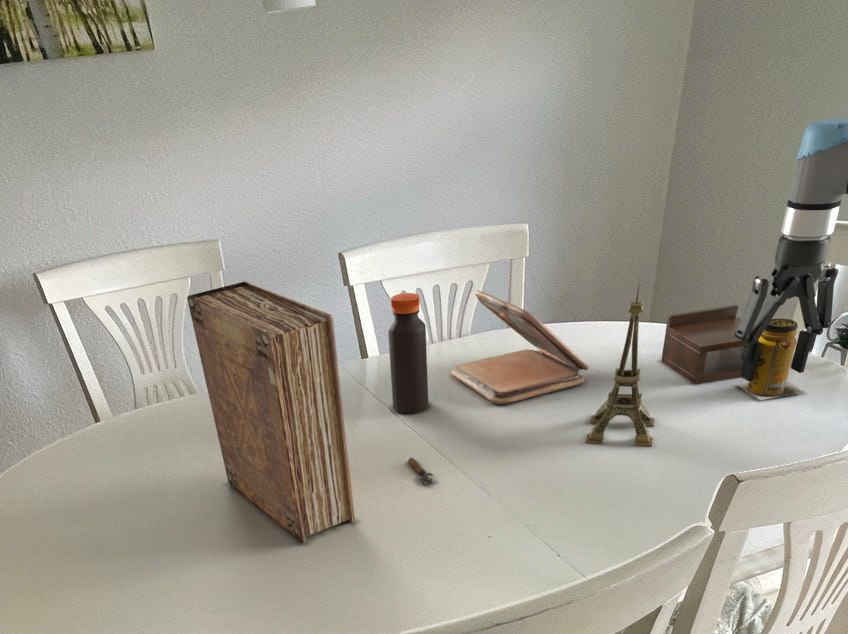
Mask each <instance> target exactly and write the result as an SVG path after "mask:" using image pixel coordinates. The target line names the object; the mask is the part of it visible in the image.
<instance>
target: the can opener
mask: <svg viewBox="0 0 848 634" xmlns="http://www.w3.org/2000/svg"><path fill="white" fill-rule="evenodd" d="M407 462H408V464H409V465H410V466H411V468H412V469H413V470H415V471H416V472H417V473H418V474H419V475H420V477H419V478H418V479H419V482H420V484H423V485H426V486H429V485H431V484H433V478H432V477H433V476H434V474H433V473H431V472H426V470H425V469H424V468H423V467H421V465H420V464H419V462H418V461H417V459H415V458H413V457H409V458H408V460H407ZM429 476H431V477H429Z"/></svg>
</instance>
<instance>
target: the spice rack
mask: <svg viewBox="0 0 848 634" xmlns="http://www.w3.org/2000/svg"><path fill="white" fill-rule="evenodd" d="M738 310H739V305H737V304H731V305H725V306H719V307H718V306H717V307H712V308H711V307H710V308H706V309H699V310H692V311H686V312H679V313H673V314H668V315H667V318H666V319H667V321H666V327H665V334H664V341H663V347H662V352H661V353H662V354H661V359H660V363H663V364H664V365H665V366H666V367H668V368H670V369H671V370H672V371H674V372H676V373H677V374H678V375H680V376H681V377H683V378H684V379H686V380H687V381H689V382H690V383H692V384H693V385H699V384H705V383H712V382H718V381H723V380H724V381H725V380H730V379H736V378H742V377H741V376H740V375H741V370H742V366H743V360H742V359H741V354H742V350H743V345H744V341H742V340H740V339H738V338H736V337H735V332H736V329H737V327H738V325H739V322H740V320H741V317H740V318H739V317H738V316H737V314H738ZM761 336H762V335H761ZM761 336H760V337H761ZM758 340H759V339H758Z"/></svg>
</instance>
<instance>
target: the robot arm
mask: <svg viewBox="0 0 848 634" xmlns="http://www.w3.org/2000/svg"><path fill="white" fill-rule="evenodd" d="M790 186H791V187H790V189H789V190H790V191H789V195H788V199H787V202H786V207H785V210H784V217H783V221H782V224H781V232H780V233H782V235H781V236H780V237H779V238H778V241H777V246H776V251H775V256H774V264H775V265H774V268H773V270H772V271H771V272H770V274H769V275H766V276H761V275H760V276H759V275H756V276H755V277H754V278H753V280H752V288H751V292H750V295H749V298H748V300H747V302H746V305H745V307H744V310H743V312H742V314H741V317H740V319H741V320H740V322H739V325H738V327H737V329H736V332H735V337H736V338H738V339H740V340H742V341H744V345H743V350H742V354H741V359H742V360H743V366H742V370H741V375H740V376H741V377H740V378H742V379H744V380H746V381H747V382H749V381H753V378H754V373H755V369H756V364H757V360H758V356H759V351H760V347H761V343H760V342H758V339H759V338H760V336H761V335H762V333H763V332H764V330H765V329H766V327H767V325H768V324H769V322H770V321H771V319H774V316H775V315H776V313H777V311H778V310H779V309H780V307H781V306H783V305H784V304H785V302H786V301H787V300H790V299H793V298H794V297H795V298H798V301H799V305H800V311H801V315H802V320H803V325H804V329H805V330H800V331H799V332H798V337H797V339H796V346H795V350H794V353H793V358H792V361H791V365H790V369H792V370H793V371H795V372H797V373H799V374H802V373H804V372H805V369H806V365H807V361H808V357H809V354H810V352H812V351H813V349H814V348H815V342H816V339H817V336H821V335H822V334H823V332H824V329H829V328H830V327H831V325H832V319H833V318H832V317H833V305H834V303H833V302H834V289H835V283H836V280H837V278H838V275H839V269H838V268H835V267H833V266H830V265H825V266H823V264H824V263H825V262H826V259H827V257H828V254H829V249H830V246H831V242H832V238H831V236H830V235H832V234H833V233H834V231H835V227H836V223H837V219H838V216H839V212H840V207H841V204H842V199H843V196H844V195H848V118H845V117H843V118H842V117H841V118H839V117H837V118H835V117H834V118H826V119H825V118H824V119H819V120H815V121H813V122H811V123H809V124H808V126H807V127H806V128H805V130H804V133H803V136H802V139H801V143H800V147H799V150H798V154H797V155H796V158H795V166H794V171H793V175H792V181H791V185H790ZM816 282H817V290H816V288H815V284H816ZM771 285H772V286H771ZM816 291H817V292H816ZM815 297H816V298H815Z"/></svg>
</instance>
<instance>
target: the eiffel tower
mask: <svg viewBox="0 0 848 634" xmlns="http://www.w3.org/2000/svg"><path fill="white" fill-rule="evenodd" d="M640 281H641V276H639V279H638V283H640ZM639 292H640V284H638V285H637V291H636V296H635V301H630V302H629V303H630V304H629V306H628V308H627V313H630V319H629V323H628V328H627V331H626V332H627V333H626V337H625V342H624V346H623V350H622V355H621V359H620V363H619V367H616V369H615V371H614V375H613V381H614V385H613V388H612V390H611V391H608V396H607V399H606V400H605V401H604V402H603V403H602V404H601V405H600V407H599V408H598V409H597V411H596V413H595V414H592V415H591V416H590V420H589V424H593V425H594V426H593V427H592V429H591V431H590V432H589V433H587V434H586V437H585V438H586V439H585V444H597V445H599V444H600V445H603V443H604V437H605V433H604V432H605V430H606V429H607V427H608V425H609V423H610V421H611V420H612V419H613V418H615V417H619V416H624V417H628V418H629V419H630V420H631V421H632V422H633V425H634V432H635V435H634V444H633V446H635V447H636V446H637V447H652V446H653V437H652V436H651V434H650V431H649V430H648V428H647V427H654V424H655V417H652V416H651V414H650V412H649V410H648V408H647V406H646V405H645V403H644V402H643V400H642V397H643V393H642V392H640V388H639V382H640V381H641V373H642V372H641V368H638V364H639V328H640V327H639V325H640V314H641V313H643V312H644V306H643V304H644V302H643V301H639ZM630 348H631V369H626V365H627V362H628V358H629V353H630ZM623 387H627V388H628V387H629V388H631V393H620V388H623Z"/></svg>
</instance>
